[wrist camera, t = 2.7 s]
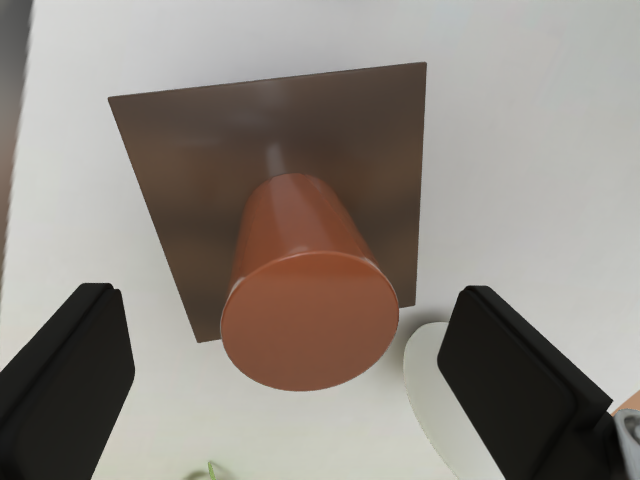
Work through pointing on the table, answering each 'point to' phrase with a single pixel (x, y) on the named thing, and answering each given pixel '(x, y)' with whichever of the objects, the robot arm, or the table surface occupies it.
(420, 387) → the sauce bottle
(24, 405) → the robot arm
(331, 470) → the table surface
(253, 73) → the table surface
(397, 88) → the stand
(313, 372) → the canister
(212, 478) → the figurine
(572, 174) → the table surface
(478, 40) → the table surface
